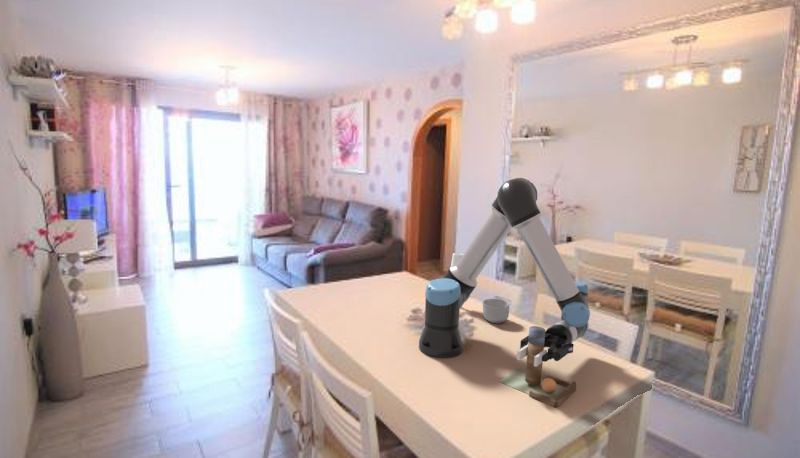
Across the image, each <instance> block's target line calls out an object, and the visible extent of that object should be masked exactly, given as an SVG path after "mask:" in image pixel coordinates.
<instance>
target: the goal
mask: <svg viewBox="0 0 800 458" xmlns="http://www.w3.org/2000/svg"><path fill="white" fill-rule="evenodd" d="M525 375H526V371H524V370H522V369H519V368H516V369H515V370H513V371H512V372H510V373H508V374H507V375H506V376H504V377H502V378H500V380H498V382H499V383H501V384H503V385H506V386H508V387H511V388H513V389H515V390H517V391H520V392H523V393H524V394H527V395H528V396H529V397H530V398H533V399H535V400H537V401H539V402H541V403H543V404H547V405H549V406H552V407H553V408H556V409H557V408H559V407H560V406H561V405H562V404H563V403H564V402H565V401H566V400H567V399H568V398H569V397H571V395H572V394H573V393H575V391H576V390H577V383H578V382H577V381H576V380H573V381H572V382H568V381H566V380H563V379H560V378H558V377H556V376H553V375H550V374H548V376H547V378H551V379H553V380H554V381H555V382H556V385H557V388H556V390H555V391H554V392H553V393H547V392H545V391H544V390H543V388H542V381H543V380H544V379H545V378H542V377H541V384H539V385H531V384H529V383H527V382H526V381H525Z"/></svg>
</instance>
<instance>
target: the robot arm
mask: <svg viewBox="0 0 800 458" xmlns="http://www.w3.org/2000/svg"><path fill="white" fill-rule="evenodd" d="M538 195H539V194H538V190H537V188H536V185H534V183H532V181H530V180H529V179H527V178H523V177H516V178H512V179H508V180H507V181H505V182H504V183H503V184H502V185H501V186H500V187H499V188H498V191H497V196H496V198H495V199H494V201H493V202H492V204H491V205H490V206H491V210H492V211H491V214H490V215H489V216H488V218H486V221H485V222H484V224H483V225H482V227H480V229H479V231H478V232H477V234H476V235H475V237H474V238H473V240H472V242H471V243H470V244H469V246H468V248H466V251H465V252H464V253H463V256H462V258H461V259H460V261H459V262H458V264H457V265H455V266H451V265H450V267H449V268H448V269H447V271H446V272H445V274H444V276H443V277H440V278H439V277H438V278H436V279H432V280H430V281H429V282H428V283H427V284H426V288H425V292H424V293H425V295H424V296H425V307H424V309H425V310H424V327H423V329H422V332H421V335H420V337H419V338H418V349H419V350H420V351H421V352H422V353H423V354H425V355H427V356H430V357H434V358H453V357H457V356H458V355H460V354H462V352H463V346H464V344H463V339H462V336H461V332H460V328H459V325H460V324H459V322H460V311H461V307H462V305H463V306H464V304H465V303H466V302H467V301H468V300H469V298H470V297H471V294H472V293H473V291H474V290H475V289H476V287H477V285H478V281H477V278H478V277H479V276H480V274H481V273H482V271H483V269H484V268H485V267H486V265H487V264H488V262H489V261H491V258H492V257H493V255H494V254H495V253H496V251H497V250H498V248H499V247H500V245H501V244H502V242H503V241H504V240H505V238H506V237H507V235H508V234H509V232H510V231H511V229H516V230H517V232H518V234H519V236H520V237H521V240H522V241H523V243H524V244H525V246H526V249H527V250H528V252H529V254H530V256H531V257H532V259H533V261H534V263H535V265H536V267H537V268H538V270H539V272H540V274H541V276H542V277H543V279H544V282H545V283H546V285H547V287H548V288H549V291H550V293H551V294H552V296H553V297H554V300H555V302H556V304H557V306H558V308H559V309H560V311H561V315H560V316H561V317H560V320H559V321H558V322H556V323H555V324H552V325H551V326H550V327H548V328H547V329H545V341H544V350H543V351H542V352H540V353H539V354H537V355H536V356H535V357H534V366H535V367H537V366H538V365H539V364H541V363H542V362H548V361H549V360H550V361H551V360H552V359H553V360H554V361H555V362H559V361H560V360H562V359H563V358H564V357H566V356H567V355H568V354H572V353H573V352H574V346H575V345H574V342H575V341H577V340H578V339H579V338H581V337H583V336H584V335H585V334H586V333H587V331H588V330H589V325H590V324H589V321H590V317H591V310H590V308H589V301H588V298H589V286H588V284H587V283H586V282H582V281H578V280H574V278H573V277H572V275H571V273H570V271H569V270H568V268H567V266H566V264H565V262H564V261H563V258H562V256H561V255H560V252H559V251H558V249H557V247H556V245H555V243H554V242H553V240H552V238H551V236H550V235H549V232H548V231H547V229H546V227H545V226H544V224H543V222H542V220H541V214H542V212H541V211H540V208H539V207H538V205H537V200H538ZM462 308H463V307H462ZM528 338H529V334H528V335H527V336H526V337H524V338H522V339H521V340H520V346H519V349H518V350H517V354H516V360H517V361H521V360H522V359H524V358H526V357H527V350H528ZM545 348H547V349H545Z"/></svg>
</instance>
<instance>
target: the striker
mask: <svg viewBox="0 0 800 458" xmlns="http://www.w3.org/2000/svg"><path fill="white" fill-rule="evenodd" d="M528 328H529V329H528V335H529V338H528V350H527V356H526V364H525V372H526V375H525V381H526V382H527V383H529V384H531V385H539V384H541V378H542V373H543V362H544V361H543V362H542V363H541V364H539V365H538V366H537V367H535V366H534V357H535V356H536V355H537V354H539V353H540V352H542V351H543V350H545V348H544V341H545V332H546V329H545V328H544V327H541V326H537V325H532V326H530V327H528Z"/></svg>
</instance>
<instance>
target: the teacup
mask: <svg viewBox="0 0 800 458" xmlns="http://www.w3.org/2000/svg"><path fill="white" fill-rule="evenodd" d="M509 314H510V302H509V301H508V300H506V299H503V298H494V297H490V298H488V299H487V298H486V299H484V300H482V315H483V317H484V319H485V320H487V322H489V323H493V324H502V323H504V322H505V321H506V320H507V319H508V318H509V316H510V315H509Z"/></svg>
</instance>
